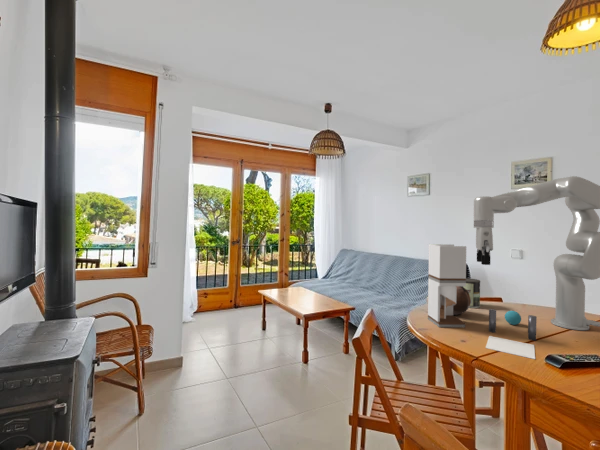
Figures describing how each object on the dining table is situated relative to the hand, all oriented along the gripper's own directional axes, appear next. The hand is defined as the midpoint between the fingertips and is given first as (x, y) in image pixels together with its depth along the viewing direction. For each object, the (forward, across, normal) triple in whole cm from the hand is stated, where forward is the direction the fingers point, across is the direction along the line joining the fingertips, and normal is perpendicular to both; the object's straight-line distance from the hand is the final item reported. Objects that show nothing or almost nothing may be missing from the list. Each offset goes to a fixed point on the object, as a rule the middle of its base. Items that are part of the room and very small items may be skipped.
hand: (483, 263), depth 131 cm
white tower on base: (+27, -4, +15) cm, 32 cm away
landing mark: (+27, -24, -4) cm, 36 cm away
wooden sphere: (+28, +12, +10) cm, 32 cm away
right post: (+27, -12, -14) cm, 33 cm away
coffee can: (+28, +32, 0) cm, 42 cm away
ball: (+24, +5, -13) cm, 28 cm away
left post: (+27, -8, -2) cm, 29 cm away
